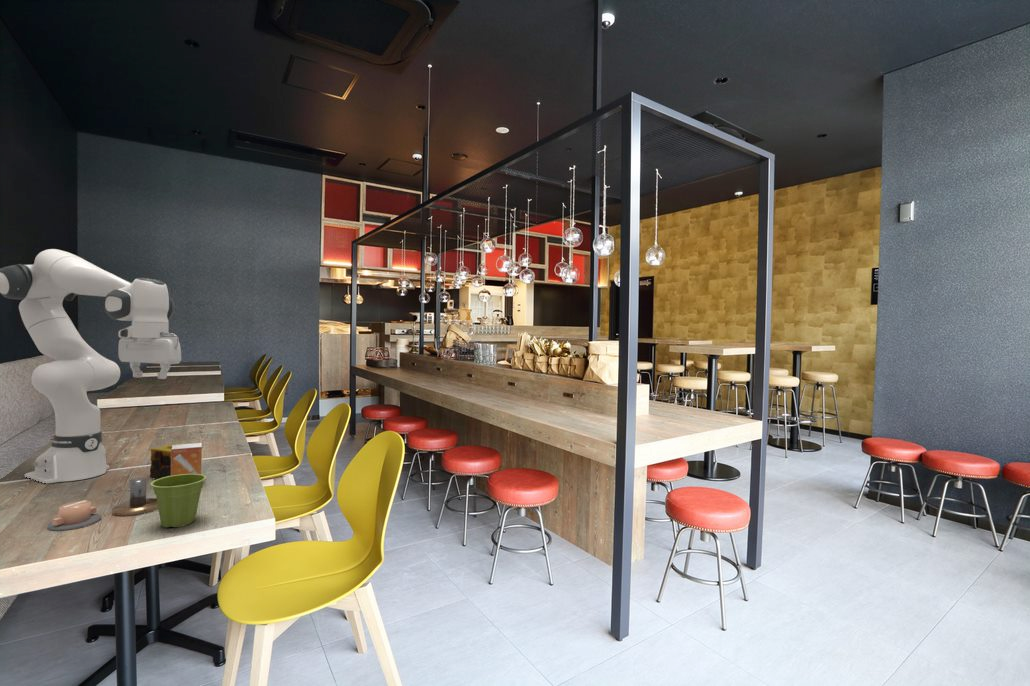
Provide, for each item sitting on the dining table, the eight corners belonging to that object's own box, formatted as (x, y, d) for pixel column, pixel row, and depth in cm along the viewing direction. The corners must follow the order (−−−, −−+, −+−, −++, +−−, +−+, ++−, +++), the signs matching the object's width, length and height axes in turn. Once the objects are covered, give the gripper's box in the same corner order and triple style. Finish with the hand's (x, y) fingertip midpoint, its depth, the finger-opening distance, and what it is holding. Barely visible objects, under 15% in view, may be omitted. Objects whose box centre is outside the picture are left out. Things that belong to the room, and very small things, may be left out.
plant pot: (216, 516, 128) (217, 475, 127) (176, 534, 116) (176, 489, 116) (180, 512, 130) (181, 471, 130) (137, 529, 119) (138, 484, 119)
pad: (37, 527, 118) (37, 525, 118) (82, 513, 127) (82, 511, 127) (66, 533, 115) (66, 530, 115) (110, 517, 125) (110, 515, 125)
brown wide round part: (101, 513, 128) (101, 483, 128) (142, 499, 138) (142, 472, 138) (132, 518, 125) (133, 488, 125) (172, 504, 136) (172, 476, 136)
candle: (170, 482, 155) (170, 451, 155) (148, 478, 158) (148, 448, 158) (199, 473, 165) (200, 445, 164) (178, 470, 168) (179, 442, 168)
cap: (85, 512, 127) (86, 496, 126) (103, 515, 125) (103, 499, 125) (45, 525, 118) (45, 508, 118) (63, 528, 116) (63, 511, 116)
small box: (170, 491, 147) (170, 449, 146) (171, 485, 152) (171, 444, 152) (201, 487, 151) (202, 446, 151) (201, 481, 156) (202, 442, 156)
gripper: (187, 333, 143) (186, 378, 143) (135, 331, 148) (134, 375, 148) (167, 333, 137) (167, 380, 137) (113, 331, 142) (113, 377, 142)
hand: (149, 378), depth 143 cm, fingers open, 8 cm apart
